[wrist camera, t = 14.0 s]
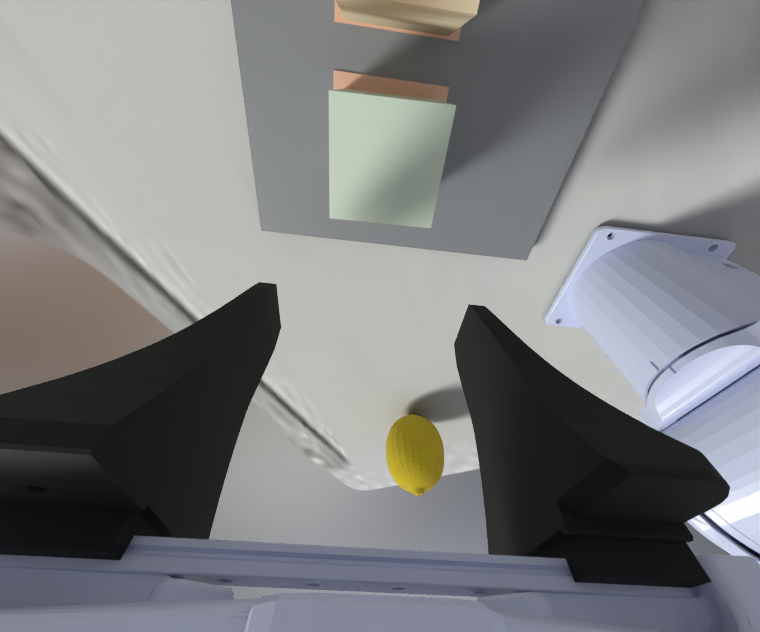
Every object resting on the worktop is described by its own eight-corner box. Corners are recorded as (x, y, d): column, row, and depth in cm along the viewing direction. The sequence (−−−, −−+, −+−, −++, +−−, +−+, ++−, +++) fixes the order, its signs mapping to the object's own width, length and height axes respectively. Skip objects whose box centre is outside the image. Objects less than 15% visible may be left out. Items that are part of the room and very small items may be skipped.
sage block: (436, 100, 14) (456, 105, 10) (419, 194, 17) (430, 228, 13) (344, 88, 14) (328, 89, 10) (342, 186, 17) (329, 218, 13)
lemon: (409, 434, 34) (415, 512, 28) (375, 414, 32) (373, 494, 26) (448, 414, 32) (463, 496, 26) (414, 391, 30) (422, 474, 23)
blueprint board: (774, -333, 9) (825, -388, 8) (520, 252, 20) (527, 261, 19) (184, -480, 8) (153, -565, 7) (267, 223, 19) (260, 231, 18)
